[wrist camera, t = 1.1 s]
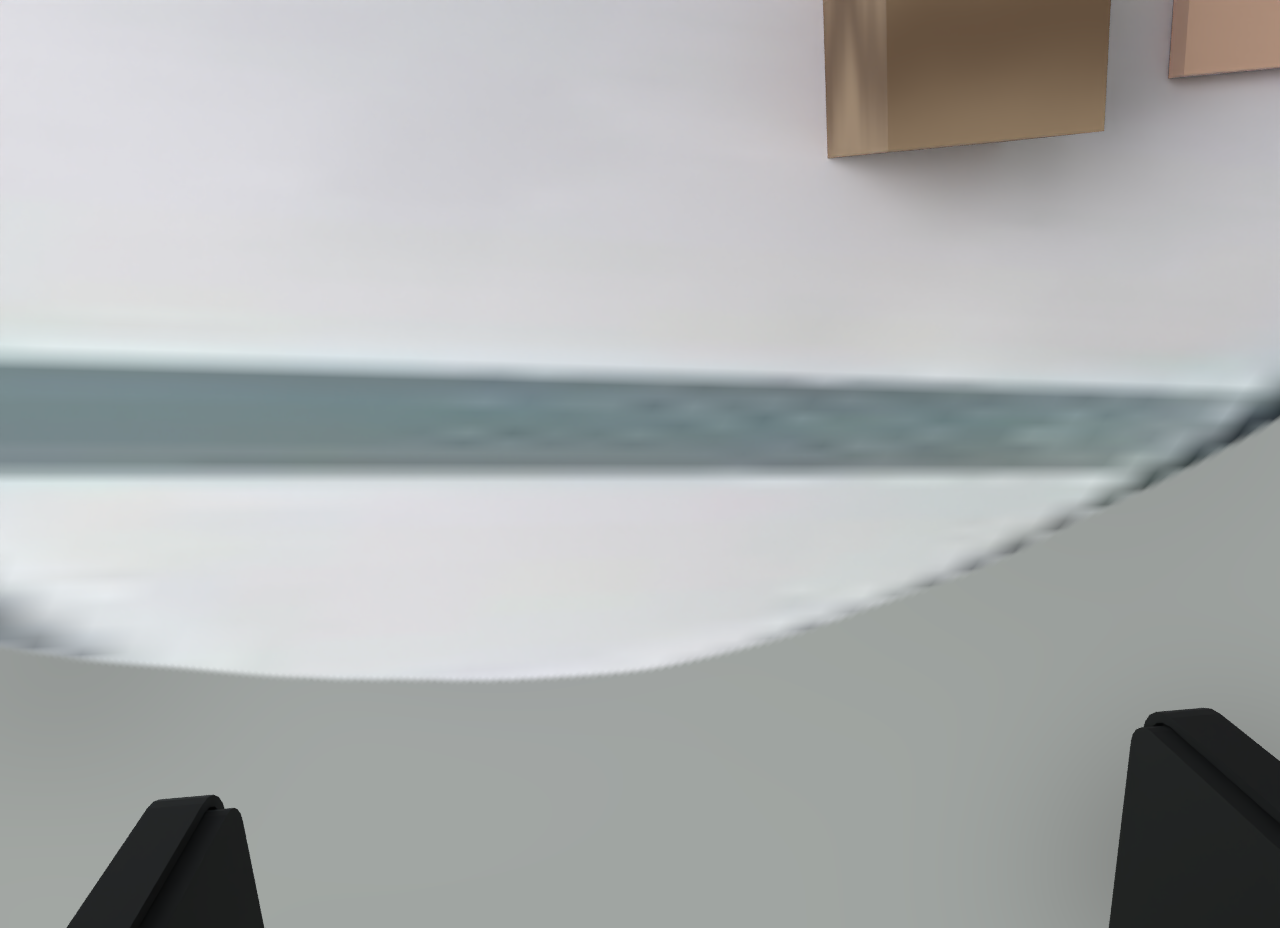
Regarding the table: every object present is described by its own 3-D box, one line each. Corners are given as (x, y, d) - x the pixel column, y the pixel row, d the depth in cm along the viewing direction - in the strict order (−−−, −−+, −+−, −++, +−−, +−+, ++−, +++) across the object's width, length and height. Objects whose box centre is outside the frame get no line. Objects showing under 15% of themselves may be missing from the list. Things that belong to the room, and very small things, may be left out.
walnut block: (821, -44, 29) (885, -101, 23) (1008, -59, 29) (1116, -119, 24) (826, 158, 31) (888, 151, 25) (1003, 141, 31) (1103, 130, 25)
